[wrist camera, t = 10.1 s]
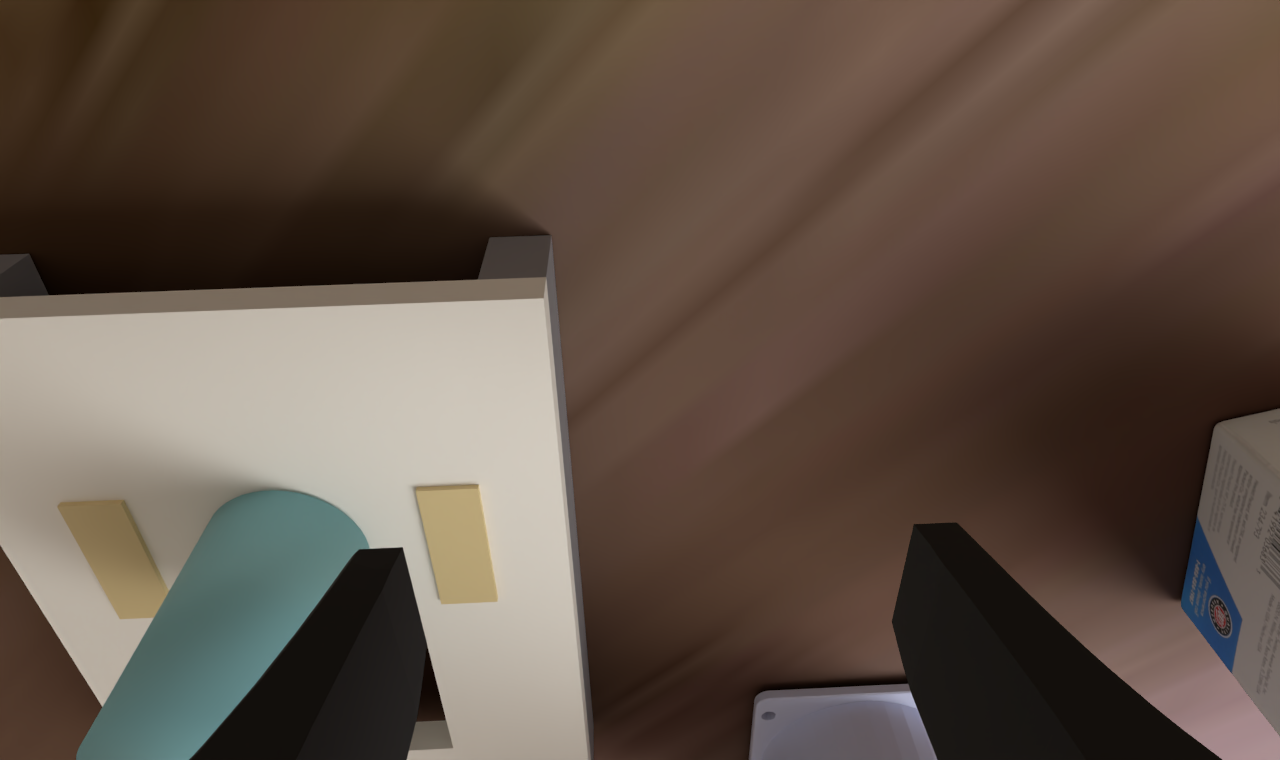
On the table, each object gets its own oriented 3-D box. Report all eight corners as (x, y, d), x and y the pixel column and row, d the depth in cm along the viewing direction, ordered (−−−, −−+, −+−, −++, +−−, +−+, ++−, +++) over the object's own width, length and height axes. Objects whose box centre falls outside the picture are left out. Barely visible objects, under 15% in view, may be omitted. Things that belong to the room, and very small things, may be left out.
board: (593, 726, 31) (593, 817, 28) (220, 745, 30) (181, 838, 28) (551, 235, 20) (542, 301, 17) (-35, 255, 19) (-146, 327, 16)
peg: (412, 521, 25) (326, 836, 17) (264, 520, 24) (106, 840, 17) (396, 403, 22) (286, 706, 14) (231, 400, 22) (28, 708, 14)
